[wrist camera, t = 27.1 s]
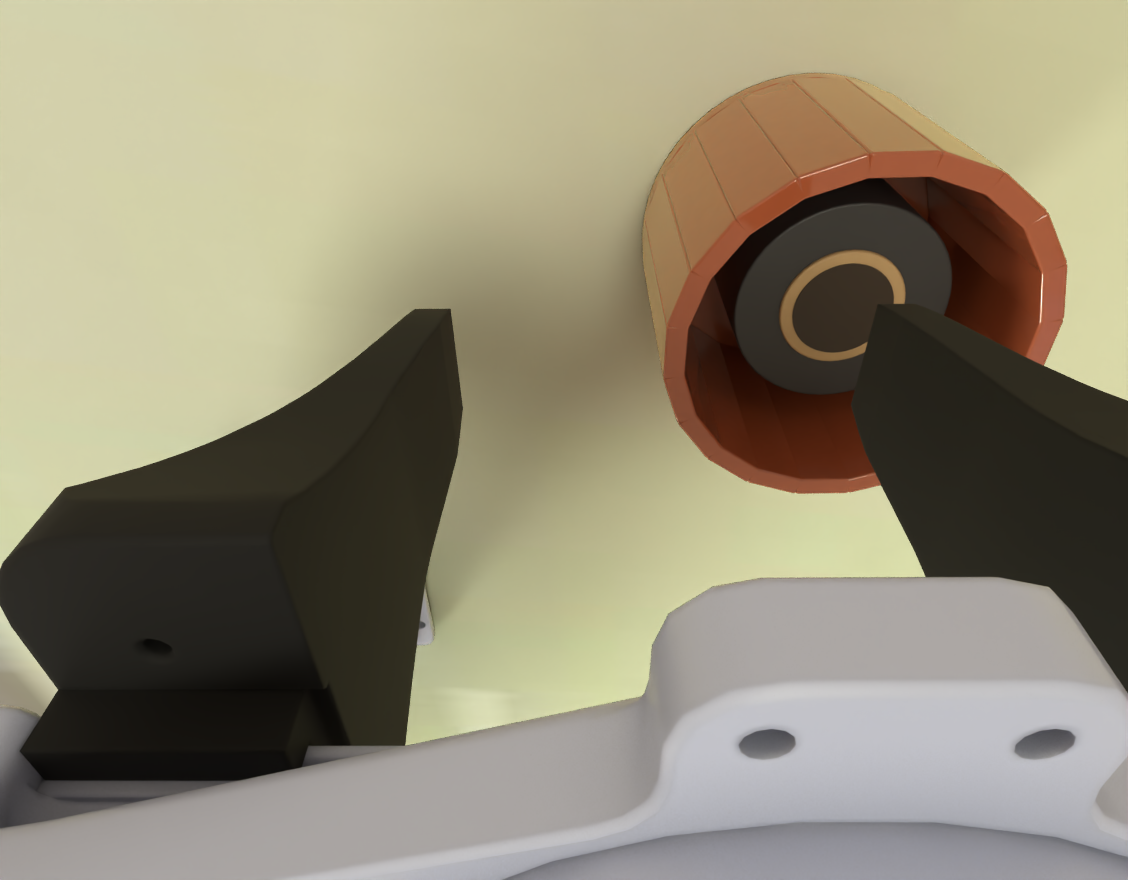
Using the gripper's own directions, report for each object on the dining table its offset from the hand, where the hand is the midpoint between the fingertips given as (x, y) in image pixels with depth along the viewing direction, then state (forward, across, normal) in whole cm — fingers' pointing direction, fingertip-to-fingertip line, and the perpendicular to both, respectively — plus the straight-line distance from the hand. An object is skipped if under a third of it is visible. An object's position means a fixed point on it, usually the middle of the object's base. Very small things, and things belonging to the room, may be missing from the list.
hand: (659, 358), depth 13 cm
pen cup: (+10, -5, +2) cm, 12 cm away
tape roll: (+10, -5, +2) cm, 11 cm away
